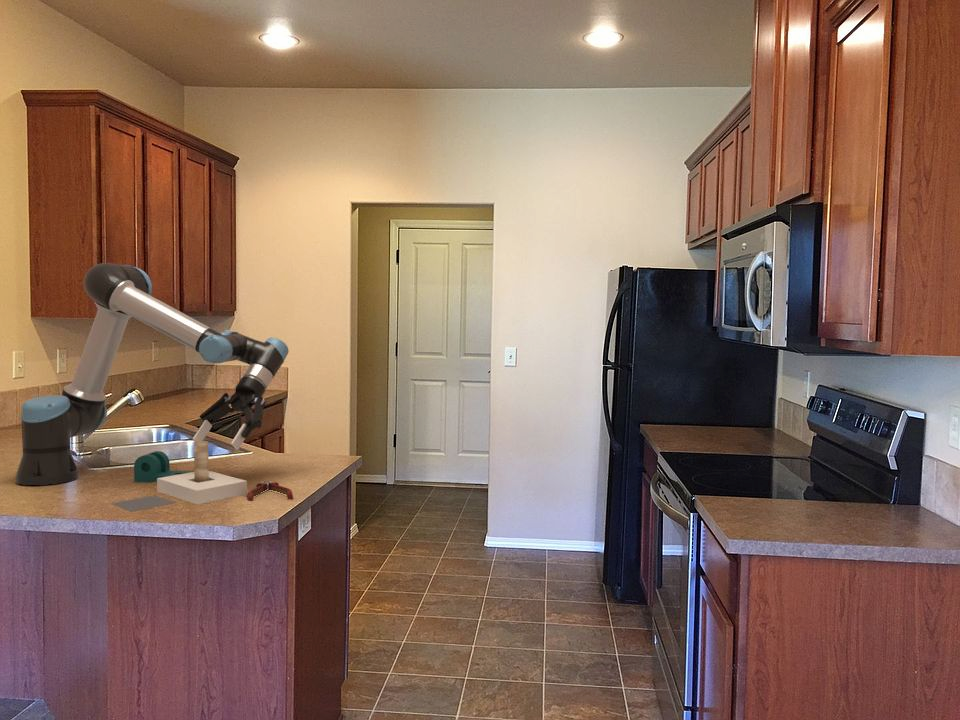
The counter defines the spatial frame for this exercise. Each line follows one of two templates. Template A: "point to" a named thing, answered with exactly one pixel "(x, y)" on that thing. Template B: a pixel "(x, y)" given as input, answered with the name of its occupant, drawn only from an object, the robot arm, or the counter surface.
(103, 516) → the counter surface
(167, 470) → the bracket
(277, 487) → the pliers
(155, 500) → the mat
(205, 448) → the peg
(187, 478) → the hole block
